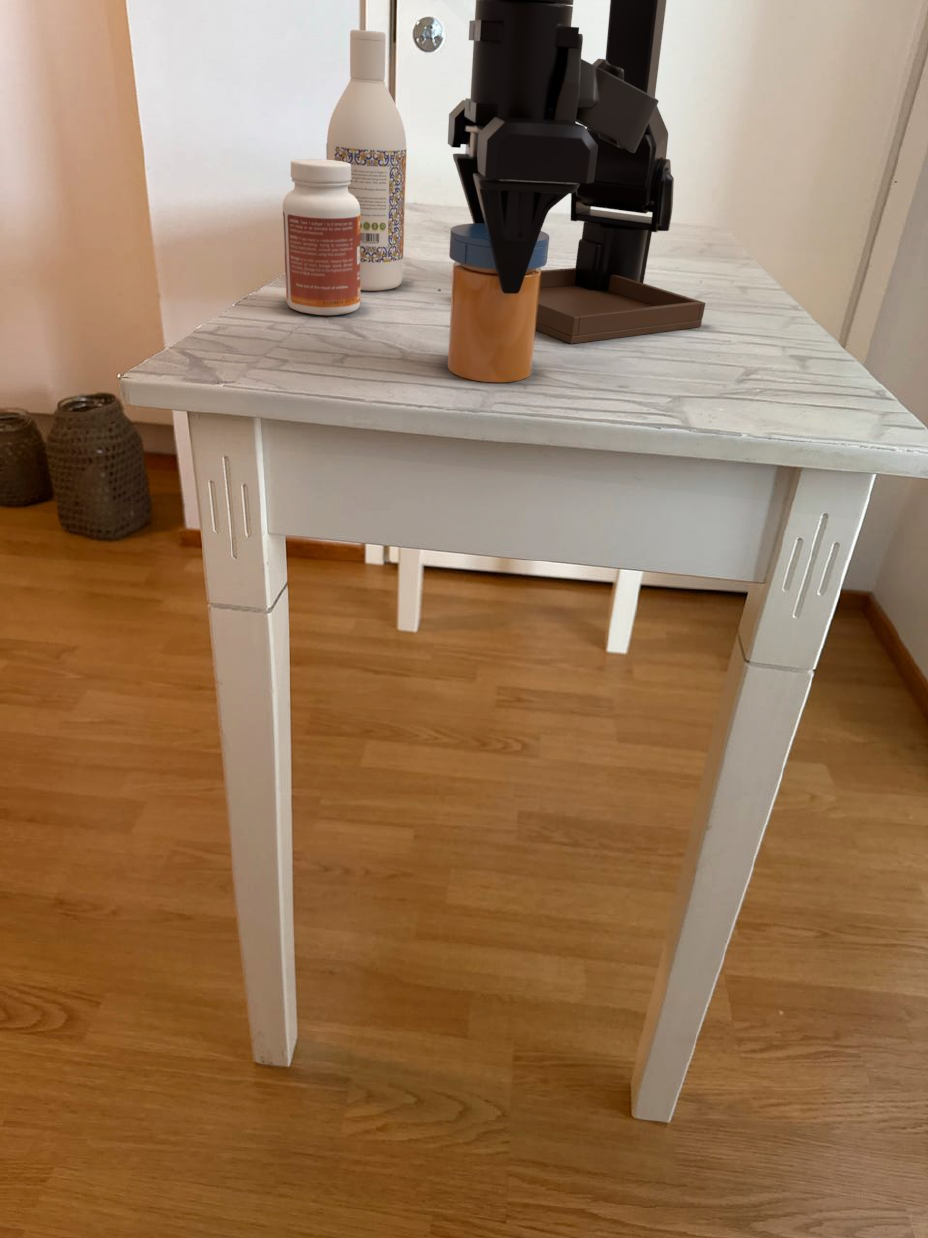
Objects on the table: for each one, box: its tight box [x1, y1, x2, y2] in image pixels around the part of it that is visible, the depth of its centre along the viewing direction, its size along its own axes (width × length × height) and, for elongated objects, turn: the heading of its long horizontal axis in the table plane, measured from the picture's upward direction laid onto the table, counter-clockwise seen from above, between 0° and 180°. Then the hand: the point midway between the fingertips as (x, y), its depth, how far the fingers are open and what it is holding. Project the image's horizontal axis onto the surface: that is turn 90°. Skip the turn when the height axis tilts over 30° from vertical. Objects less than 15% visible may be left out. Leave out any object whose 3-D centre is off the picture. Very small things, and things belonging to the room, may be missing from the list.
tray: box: [536, 267, 706, 345], centre depth 80 cm, size 15×15×2 cm
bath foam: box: [325, 29, 408, 292], centre depth 79 cm, size 7×7×20 cm
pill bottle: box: [282, 158, 361, 316], centre depth 73 cm, size 6×6×11 cm
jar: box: [447, 261, 542, 383], centre depth 62 cm, size 6×6×8 cm
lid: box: [448, 222, 550, 270], centre depth 60 cm, size 7×6×2 cm
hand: (502, 281), depth 61 cm, fingers closed on lid, 6 cm apart
